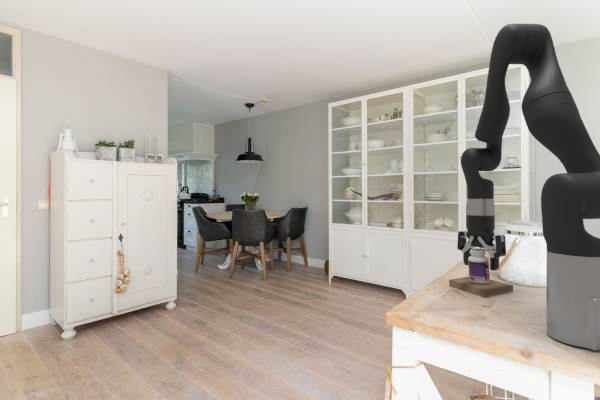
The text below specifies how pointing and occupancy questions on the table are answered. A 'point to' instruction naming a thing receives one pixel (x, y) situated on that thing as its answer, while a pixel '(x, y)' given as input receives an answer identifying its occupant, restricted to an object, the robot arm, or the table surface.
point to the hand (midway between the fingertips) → (480, 267)
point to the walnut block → (481, 287)
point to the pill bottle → (478, 266)
